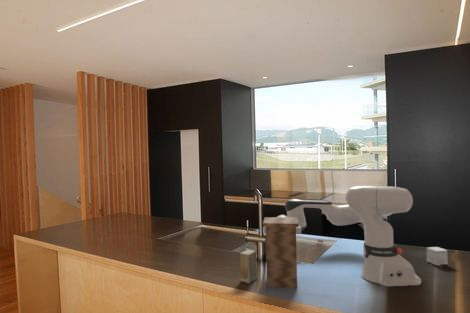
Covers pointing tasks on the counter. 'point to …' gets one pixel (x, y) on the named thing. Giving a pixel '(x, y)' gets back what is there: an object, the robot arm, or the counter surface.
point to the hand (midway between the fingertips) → (281, 233)
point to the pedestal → (281, 251)
